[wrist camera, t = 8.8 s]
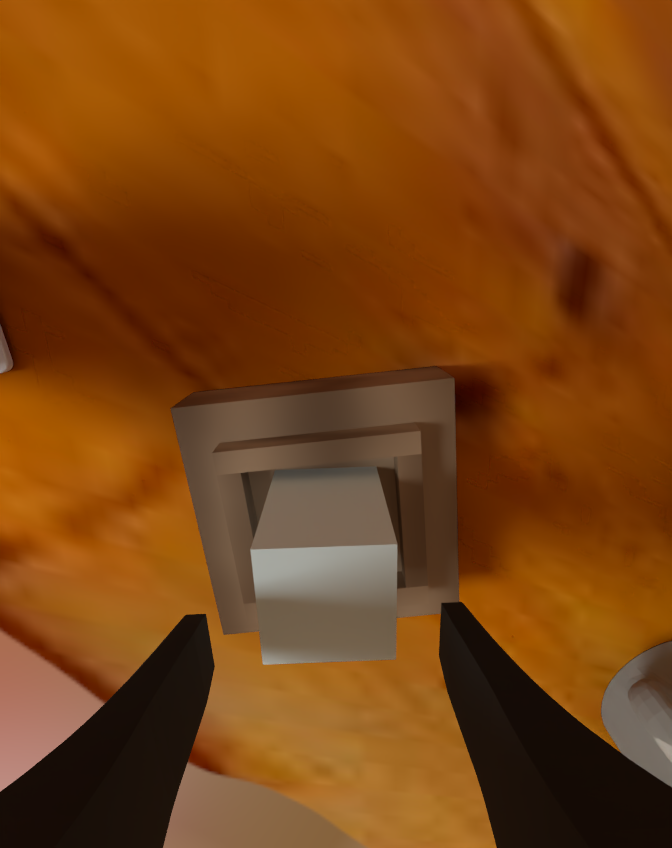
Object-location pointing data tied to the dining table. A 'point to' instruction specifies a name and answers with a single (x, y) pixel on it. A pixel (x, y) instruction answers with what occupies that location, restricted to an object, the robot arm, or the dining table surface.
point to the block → (325, 568)
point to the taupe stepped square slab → (326, 448)
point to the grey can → (643, 711)
